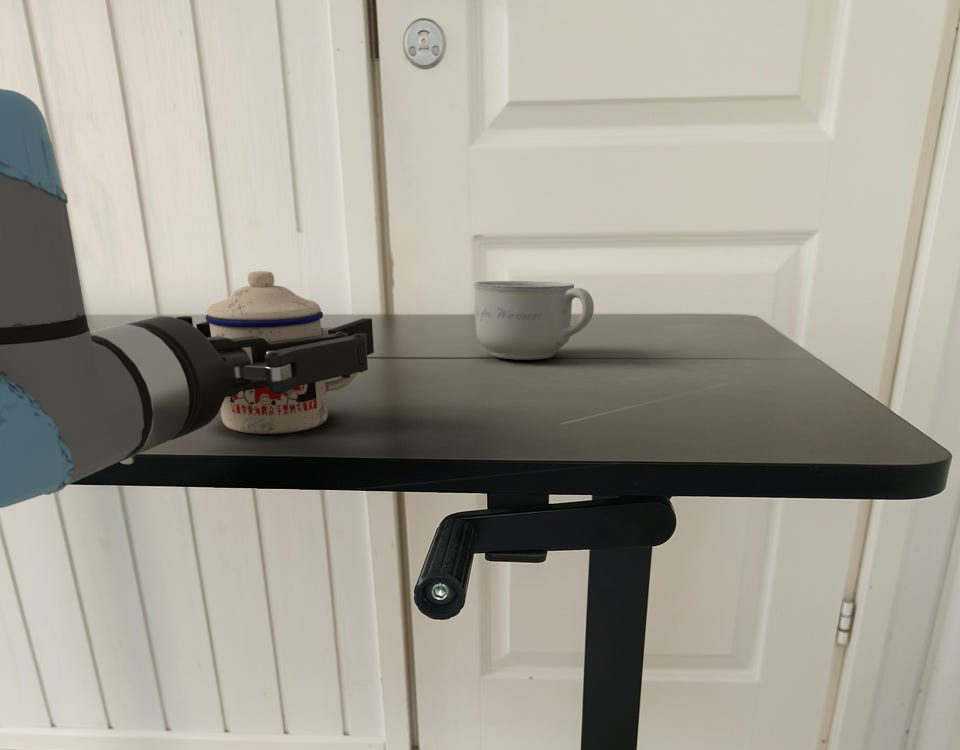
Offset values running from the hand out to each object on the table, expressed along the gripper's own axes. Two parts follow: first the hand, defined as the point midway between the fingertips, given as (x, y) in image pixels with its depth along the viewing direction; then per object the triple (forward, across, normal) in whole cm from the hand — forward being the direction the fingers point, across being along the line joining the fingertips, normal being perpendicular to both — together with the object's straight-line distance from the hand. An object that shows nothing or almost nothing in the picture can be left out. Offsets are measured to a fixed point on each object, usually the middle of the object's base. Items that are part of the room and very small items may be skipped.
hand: (305, 332), depth 77 cm
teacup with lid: (-4, 0, -7) cm, 8 cm away
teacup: (+29, +12, -7) cm, 32 cm away
